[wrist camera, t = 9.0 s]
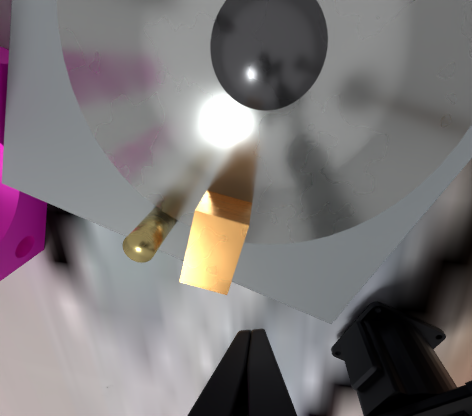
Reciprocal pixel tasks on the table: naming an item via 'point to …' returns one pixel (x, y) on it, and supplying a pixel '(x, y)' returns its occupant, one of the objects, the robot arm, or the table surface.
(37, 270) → the table surface
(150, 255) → the dowel
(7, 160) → the jig block
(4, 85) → the toy block
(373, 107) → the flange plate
